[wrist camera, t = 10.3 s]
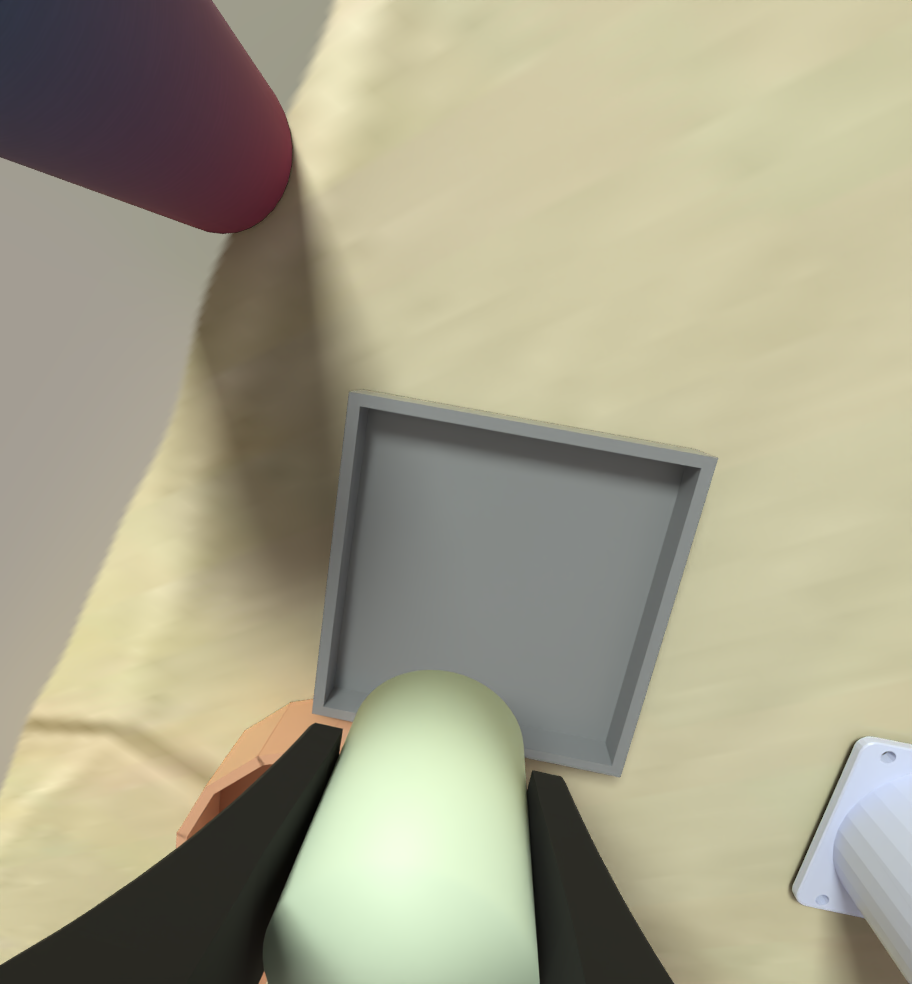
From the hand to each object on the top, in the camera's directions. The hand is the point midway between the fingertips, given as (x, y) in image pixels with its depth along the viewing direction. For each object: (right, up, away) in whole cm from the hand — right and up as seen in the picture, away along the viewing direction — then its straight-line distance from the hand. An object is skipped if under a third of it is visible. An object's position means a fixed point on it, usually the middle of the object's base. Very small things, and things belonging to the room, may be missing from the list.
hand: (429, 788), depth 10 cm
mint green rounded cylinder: (0, 0, +1) cm, 1 cm away
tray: (+2, +3, +8) cm, 9 cm away
